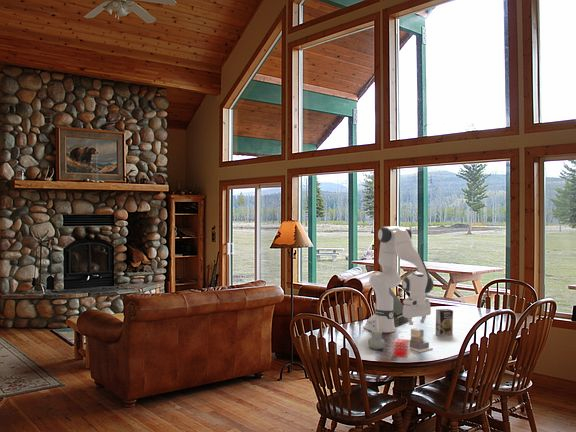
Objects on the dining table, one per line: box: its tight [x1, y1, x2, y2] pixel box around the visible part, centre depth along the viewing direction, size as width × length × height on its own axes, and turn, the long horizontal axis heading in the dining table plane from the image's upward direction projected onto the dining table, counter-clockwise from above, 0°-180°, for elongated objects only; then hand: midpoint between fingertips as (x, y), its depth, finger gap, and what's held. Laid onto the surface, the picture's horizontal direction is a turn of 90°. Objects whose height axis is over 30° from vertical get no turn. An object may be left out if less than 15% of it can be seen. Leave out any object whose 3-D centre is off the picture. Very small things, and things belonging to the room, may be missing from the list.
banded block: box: [410, 327, 425, 343], centre depth 317 cm, size 4×6×10 cm, turn 34°
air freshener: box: [367, 330, 386, 351], centre depth 315 cm, size 11×8×10 cm
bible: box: [372, 288, 409, 327], centre depth 392 cm, size 23×20×25 cm
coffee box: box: [435, 308, 454, 337], centre depth 353 cm, size 9×6×16 cm
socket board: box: [409, 339, 434, 353], centre depth 317 cm, size 14×11×4 cm
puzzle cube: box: [392, 338, 411, 358], centre depth 302 cm, size 8×8×8 cm
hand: (416, 323), depth 317 cm, fingers open, 8 cm apart
